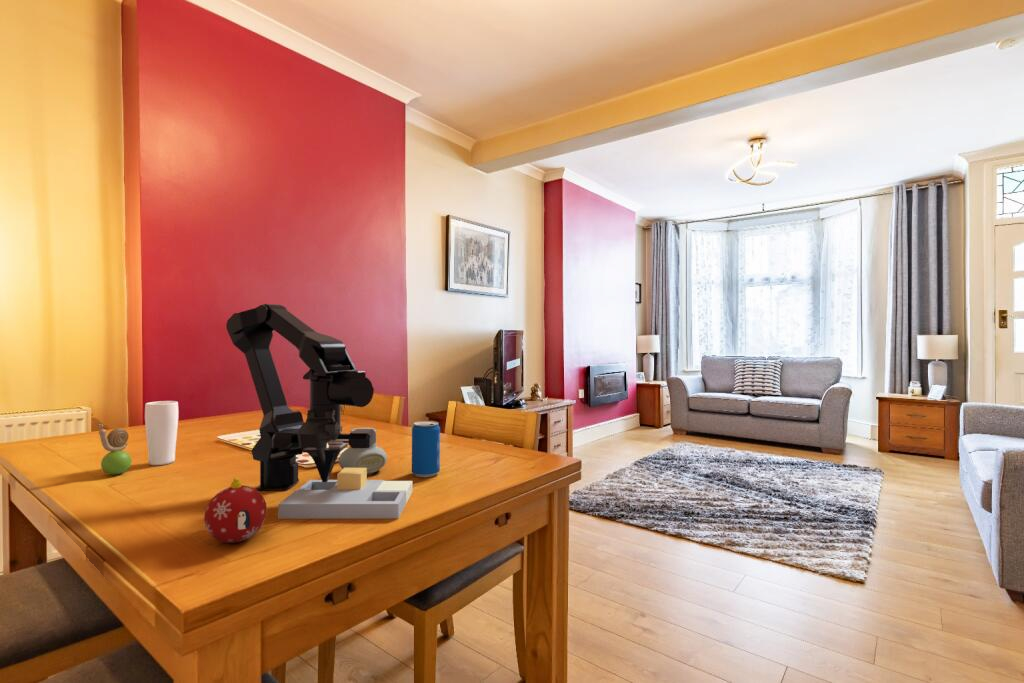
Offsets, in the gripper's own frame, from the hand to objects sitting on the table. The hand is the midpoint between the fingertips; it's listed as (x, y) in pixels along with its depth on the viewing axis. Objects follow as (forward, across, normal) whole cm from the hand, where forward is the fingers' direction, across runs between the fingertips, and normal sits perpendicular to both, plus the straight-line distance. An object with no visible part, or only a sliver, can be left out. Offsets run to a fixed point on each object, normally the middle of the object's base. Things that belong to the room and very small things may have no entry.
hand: (325, 481), depth 99 cm
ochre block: (+1, +5, 0) cm, 5 cm away
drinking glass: (+3, -49, +25) cm, 55 cm away
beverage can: (+4, +18, +17) cm, 24 cm away
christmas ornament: (+4, -7, -20) cm, 22 cm away
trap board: (+3, +6, -3) cm, 8 cm away
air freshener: (+4, +2, +19) cm, 19 cm away
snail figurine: (+3, -52, +15) cm, 55 cm away
